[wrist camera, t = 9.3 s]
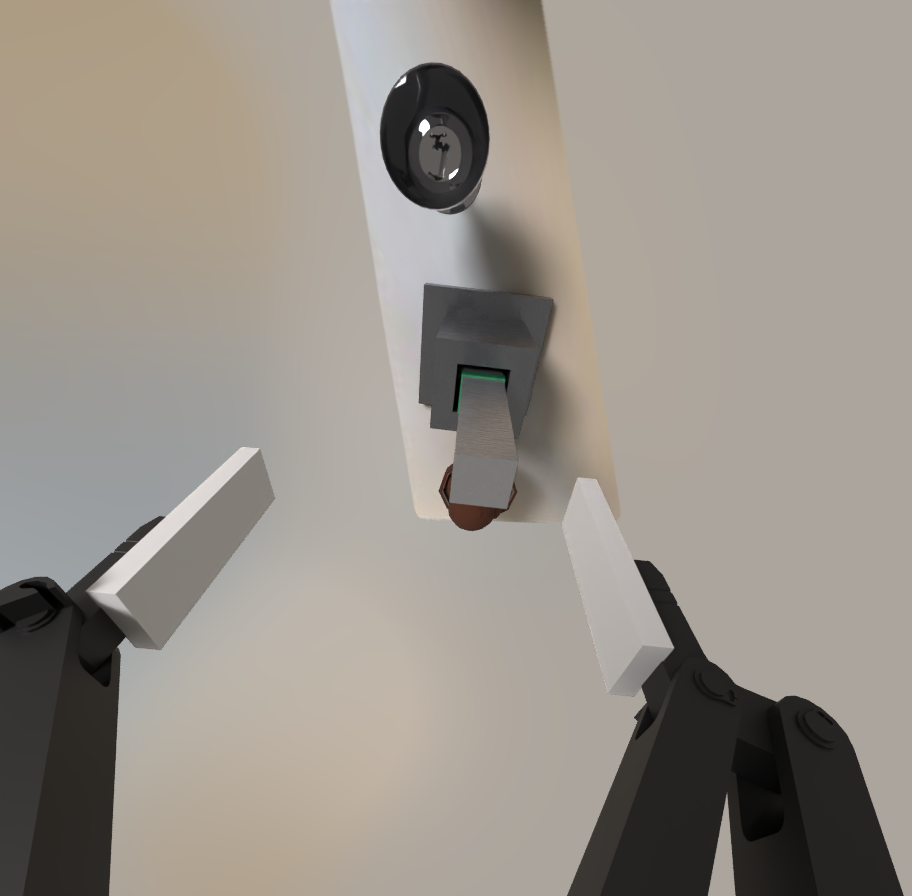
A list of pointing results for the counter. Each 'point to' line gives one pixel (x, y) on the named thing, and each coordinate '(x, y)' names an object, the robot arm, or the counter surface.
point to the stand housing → (479, 346)
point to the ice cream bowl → (469, 507)
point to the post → (483, 441)
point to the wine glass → (435, 137)
